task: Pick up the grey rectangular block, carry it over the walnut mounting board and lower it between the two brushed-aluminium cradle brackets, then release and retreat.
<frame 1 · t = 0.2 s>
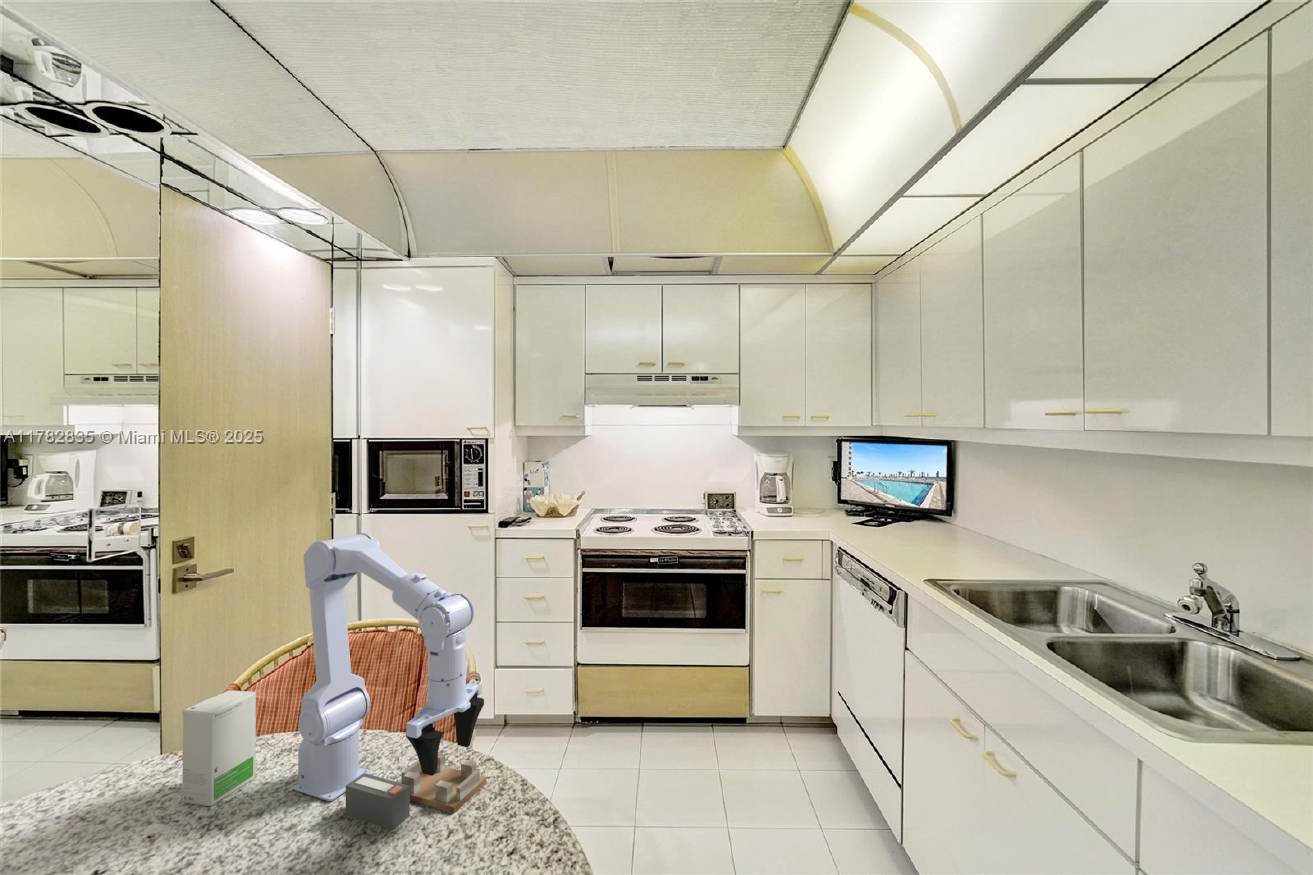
hand: (447, 758, 82), 10 cm above the table, fingers open, 7 cm apart
grey rectangular block: (377, 816, 83), on the table
skincare box: (219, 790, 90), on the table
mounting board: (440, 789, 89), on the table
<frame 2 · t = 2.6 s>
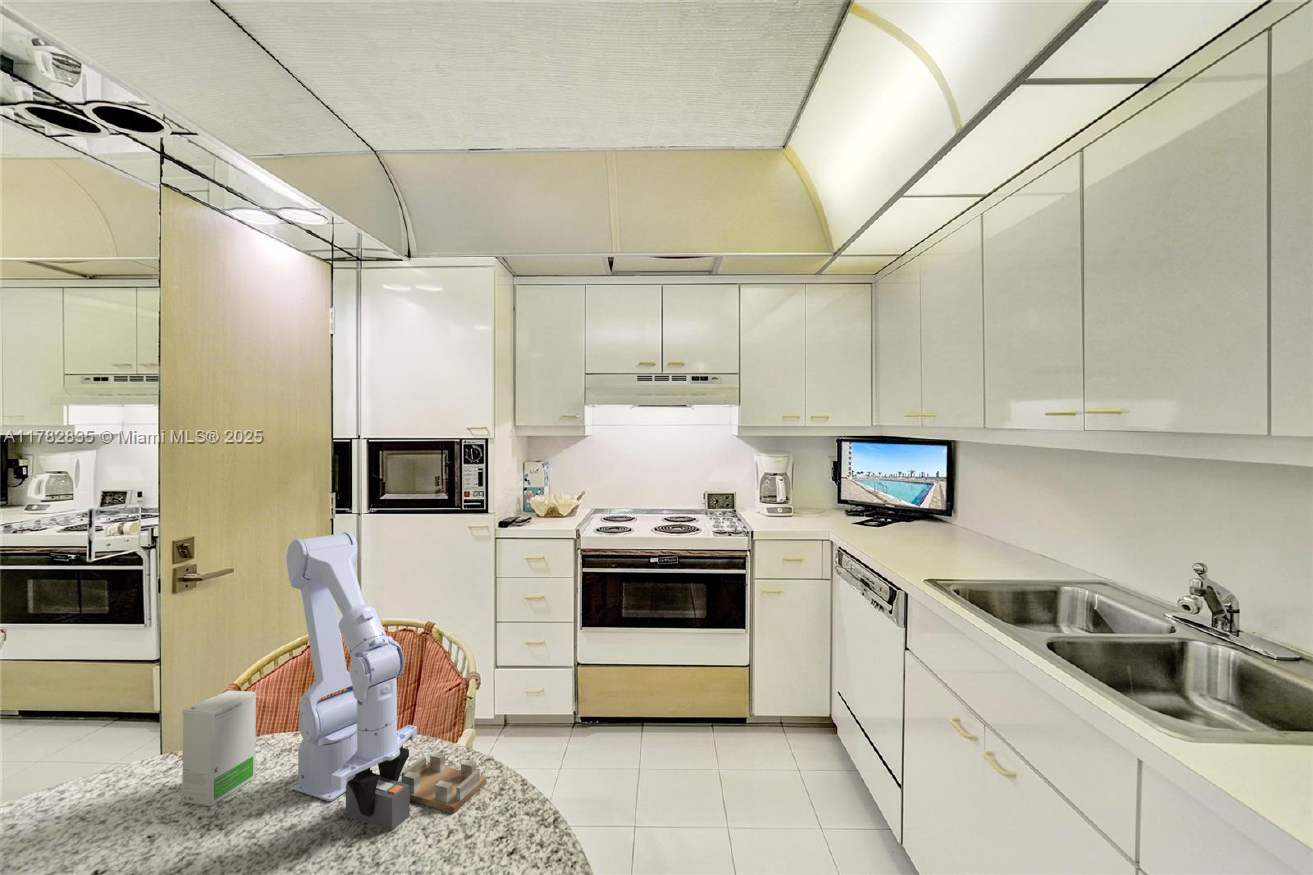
hand: (377, 805, 83), 2 cm above the table, fingers closed on grey rectangular block, 3 cm apart
grey rectangular block: (377, 815, 83), on the table, touching gripper
everything else where it was.
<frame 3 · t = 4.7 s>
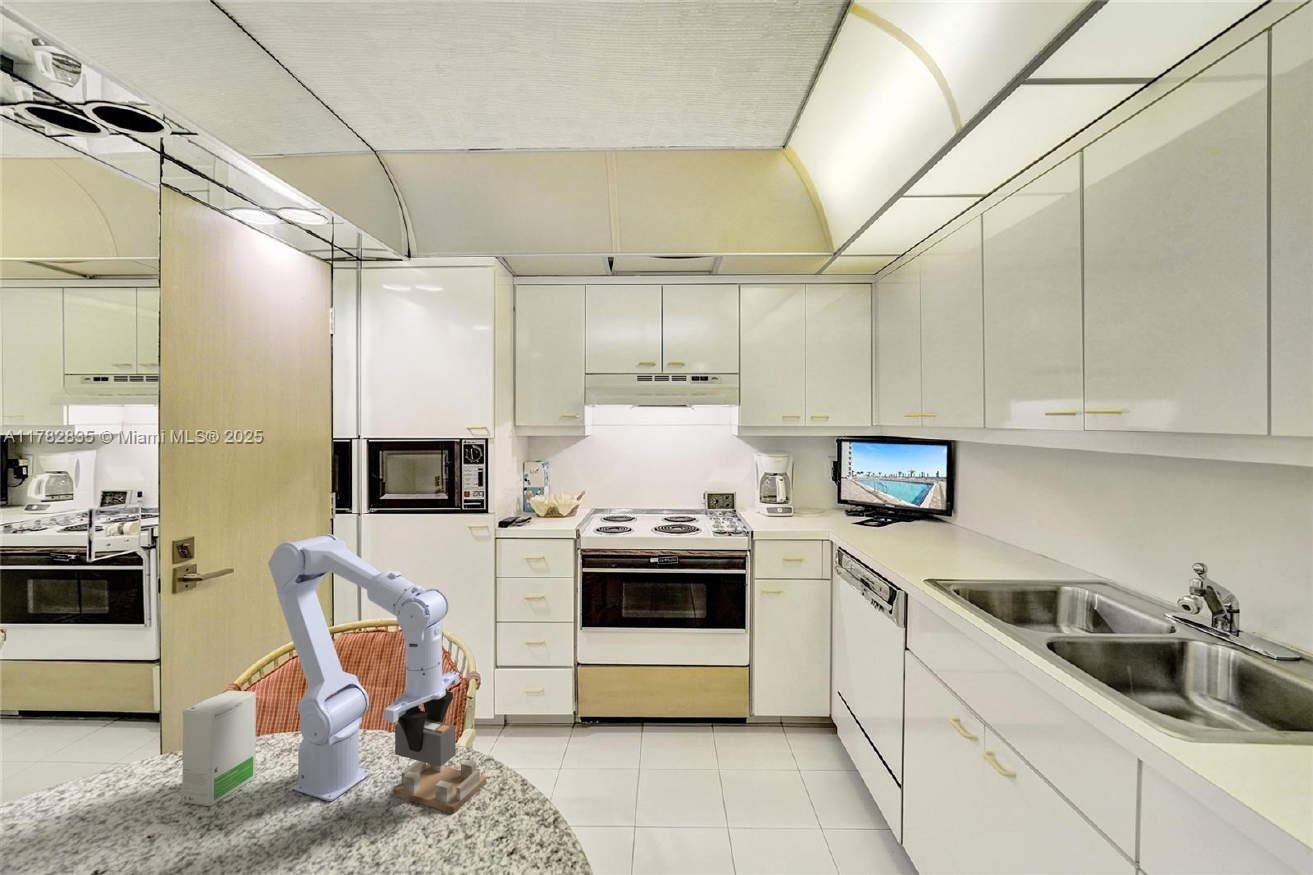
hand: (424, 743, 88), 9 cm above the table, fingers closed on grey rectangular block, 3 cm apart
grey rectangular block: (425, 754, 88), point 7 cm above the table, touching gripper
everything else where it was.
when the fingers open (4 cm above the table, at t = 6.9 s): grey rectangular block stays where it is, resting on mounting board.
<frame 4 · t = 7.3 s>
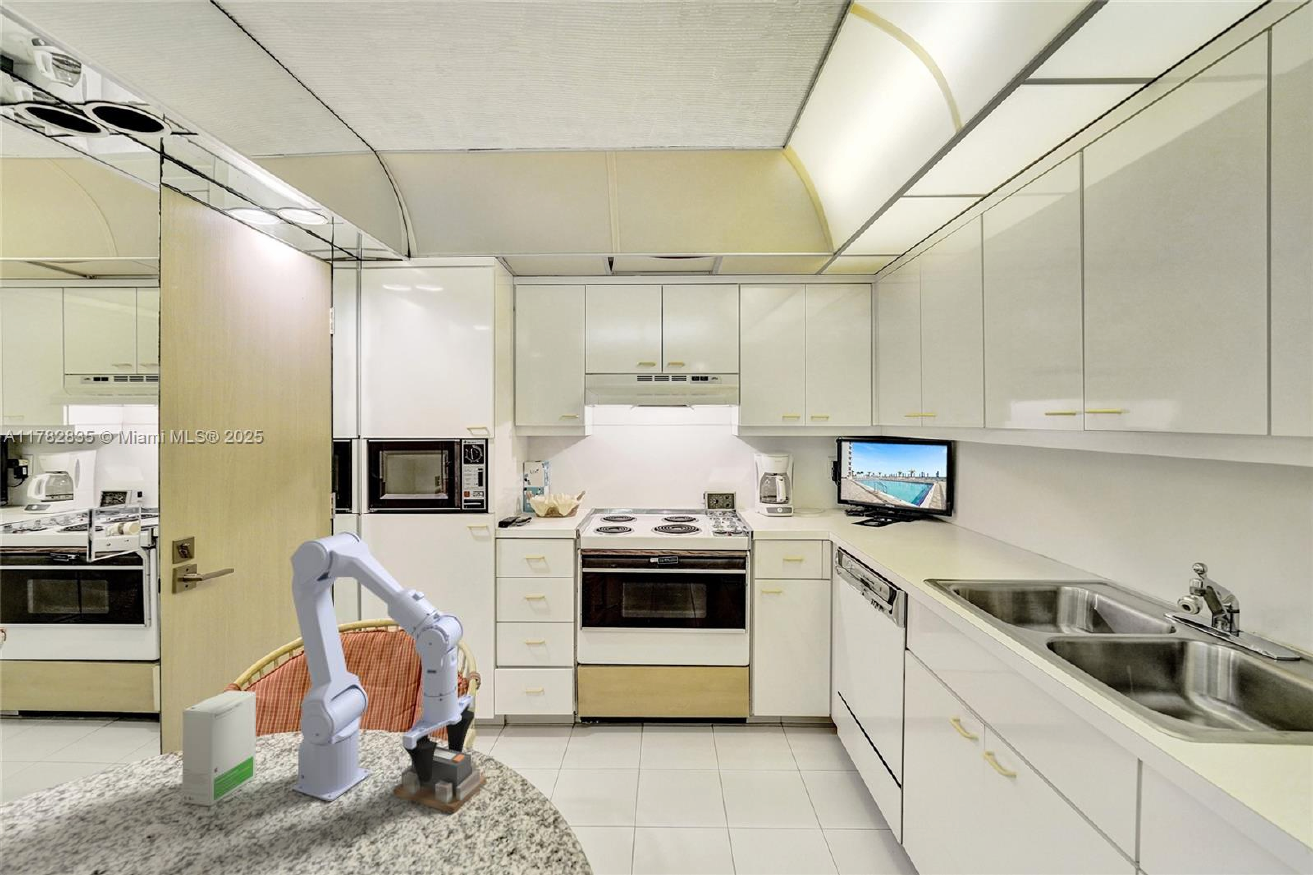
hand: (440, 767, 89), 4 cm above the table, fingers open, 7 cm apart
grey rectangular block: (441, 783, 89), point 1 cm above the table, touching mounting board
everything else where it was.
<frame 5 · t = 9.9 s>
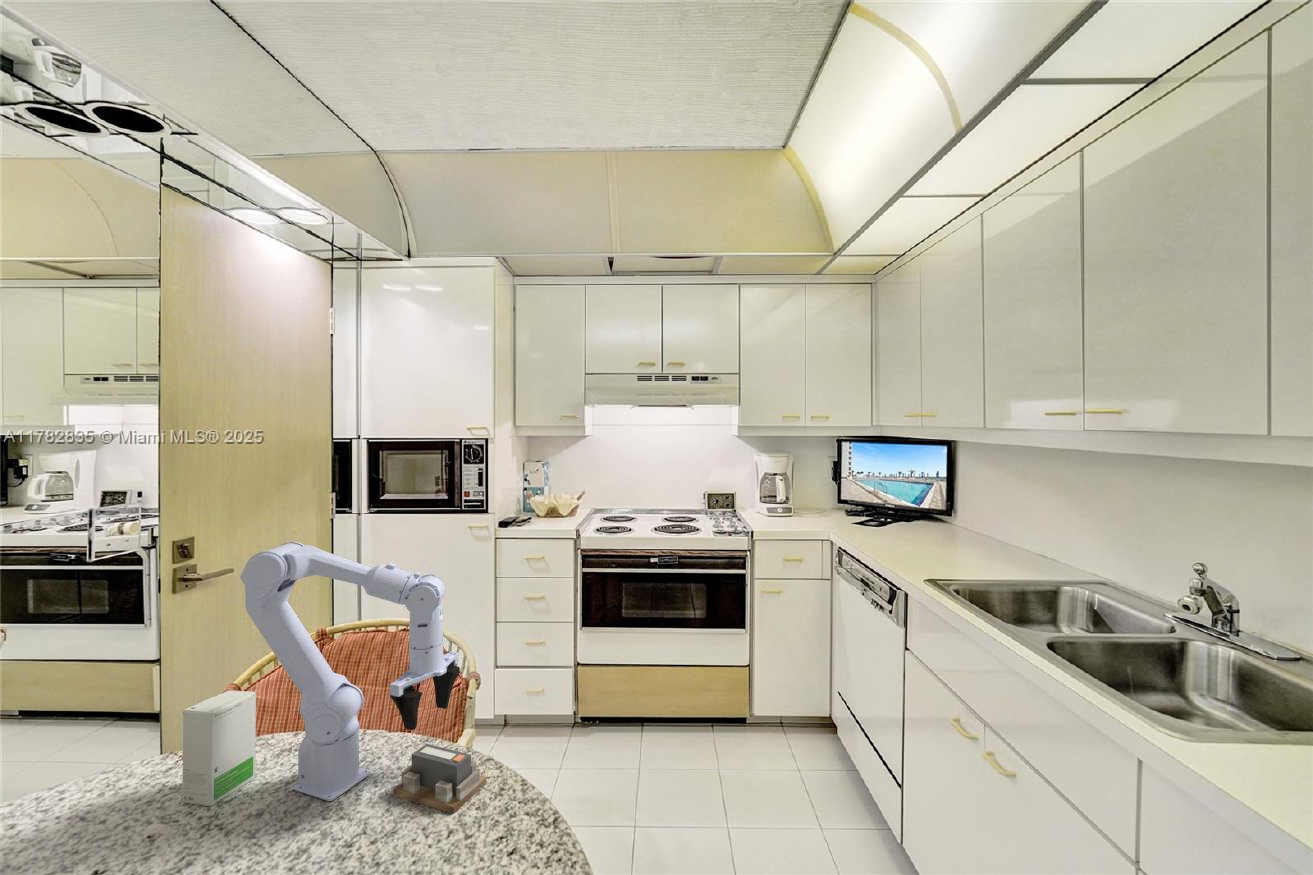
hand: (426, 717, 94), 10 cm above the table, fingers open, 7 cm apart
nothing on the table moved.
at the end: grey rectangular block 0.1 cm off-centre on the mounting board, point 1.0 cm above the mounting board's base; grey rectangular block tilted 0°; the gripper is holding nothing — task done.
